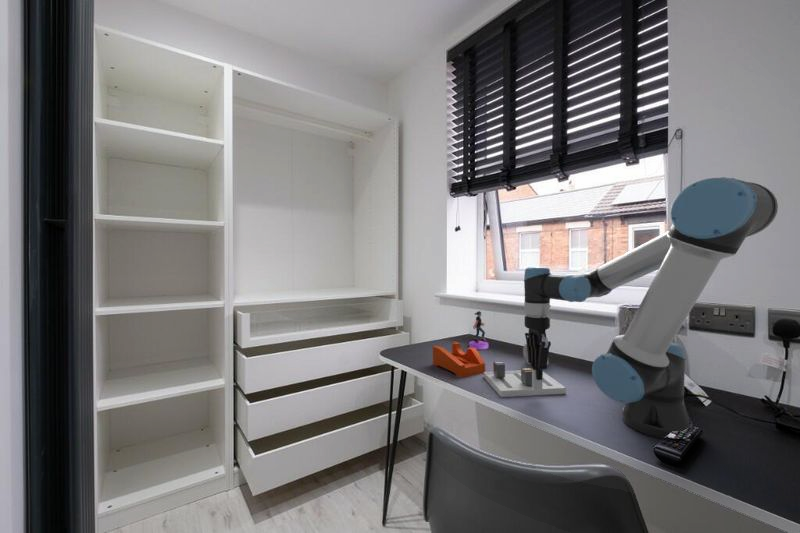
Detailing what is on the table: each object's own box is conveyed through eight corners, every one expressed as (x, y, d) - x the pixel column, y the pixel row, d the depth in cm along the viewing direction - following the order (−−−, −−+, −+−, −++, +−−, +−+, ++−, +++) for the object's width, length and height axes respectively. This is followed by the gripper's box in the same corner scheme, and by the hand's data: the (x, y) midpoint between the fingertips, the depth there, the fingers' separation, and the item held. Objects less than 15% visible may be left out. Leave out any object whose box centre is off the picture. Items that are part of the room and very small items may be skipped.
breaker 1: (505, 377, 122) (504, 364, 122) (496, 377, 122) (496, 364, 122) (501, 373, 126) (501, 360, 126) (493, 374, 126) (493, 361, 126)
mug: (536, 359, 150) (536, 334, 149) (552, 364, 142) (552, 338, 142) (516, 363, 144) (516, 338, 144) (532, 369, 137) (532, 342, 136)
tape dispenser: (432, 365, 145) (432, 346, 145) (456, 360, 151) (456, 342, 151) (460, 378, 129) (460, 357, 129) (485, 372, 135) (485, 351, 135)
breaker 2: (534, 384, 115) (534, 370, 115) (525, 385, 115) (525, 371, 115) (529, 380, 118) (529, 367, 118) (521, 381, 118) (521, 367, 118)
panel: (565, 393, 113) (565, 387, 113) (500, 396, 112) (500, 390, 111) (539, 374, 131) (539, 369, 131) (483, 377, 129) (483, 371, 129)
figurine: (489, 349, 166) (489, 312, 165) (470, 349, 167) (469, 312, 166) (486, 344, 175) (486, 309, 175) (468, 344, 176) (468, 309, 176)
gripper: (559, 318, 102) (559, 396, 103) (538, 311, 115) (538, 380, 116) (535, 319, 102) (535, 397, 103) (517, 312, 115) (517, 381, 116)
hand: (537, 388), depth 109 cm, fingers closed
